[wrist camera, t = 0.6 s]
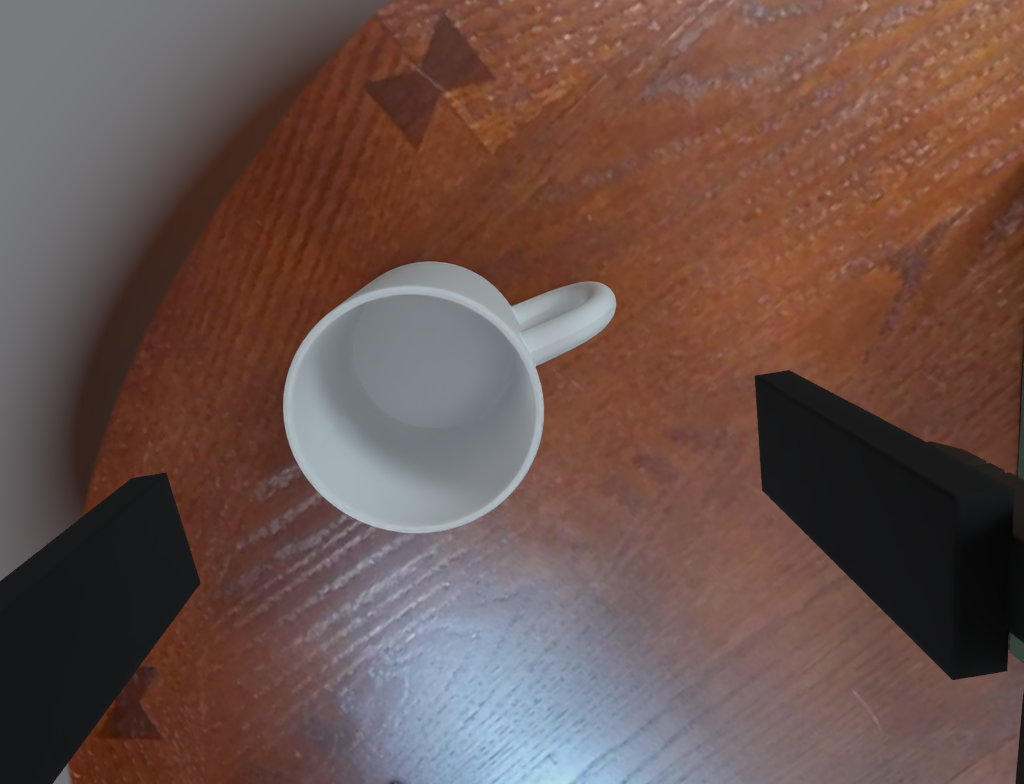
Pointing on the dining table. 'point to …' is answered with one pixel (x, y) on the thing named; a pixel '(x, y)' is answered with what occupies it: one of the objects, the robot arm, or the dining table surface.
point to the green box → (1016, 646)
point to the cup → (429, 393)
